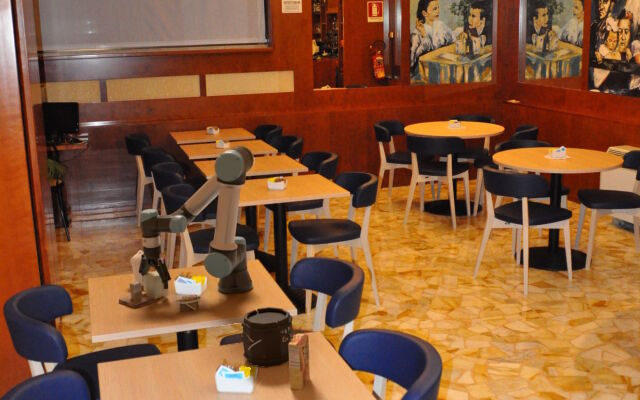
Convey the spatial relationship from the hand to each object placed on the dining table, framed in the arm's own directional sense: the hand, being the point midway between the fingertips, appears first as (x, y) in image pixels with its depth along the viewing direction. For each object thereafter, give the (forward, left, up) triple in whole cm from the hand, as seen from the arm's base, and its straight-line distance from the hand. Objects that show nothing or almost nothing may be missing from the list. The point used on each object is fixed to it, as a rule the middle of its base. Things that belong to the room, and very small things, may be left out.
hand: (156, 292), depth 344 cm
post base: (0, +10, -1) cm, 10 cm away
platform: (-27, +2, -2) cm, 27 cm away
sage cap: (0, 0, -1) cm, 1 cm away
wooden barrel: (-86, +15, -2) cm, 87 cm away
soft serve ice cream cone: (+18, -5, -2) cm, 19 cm away
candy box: (-109, +22, -2) cm, 111 cm away
